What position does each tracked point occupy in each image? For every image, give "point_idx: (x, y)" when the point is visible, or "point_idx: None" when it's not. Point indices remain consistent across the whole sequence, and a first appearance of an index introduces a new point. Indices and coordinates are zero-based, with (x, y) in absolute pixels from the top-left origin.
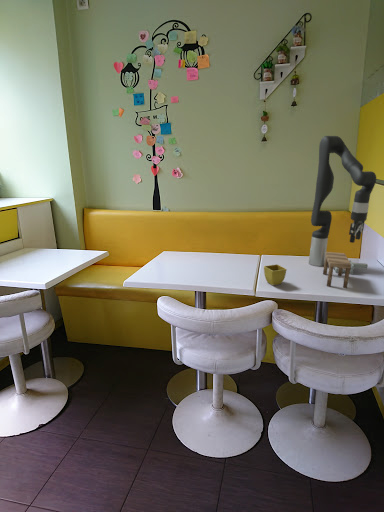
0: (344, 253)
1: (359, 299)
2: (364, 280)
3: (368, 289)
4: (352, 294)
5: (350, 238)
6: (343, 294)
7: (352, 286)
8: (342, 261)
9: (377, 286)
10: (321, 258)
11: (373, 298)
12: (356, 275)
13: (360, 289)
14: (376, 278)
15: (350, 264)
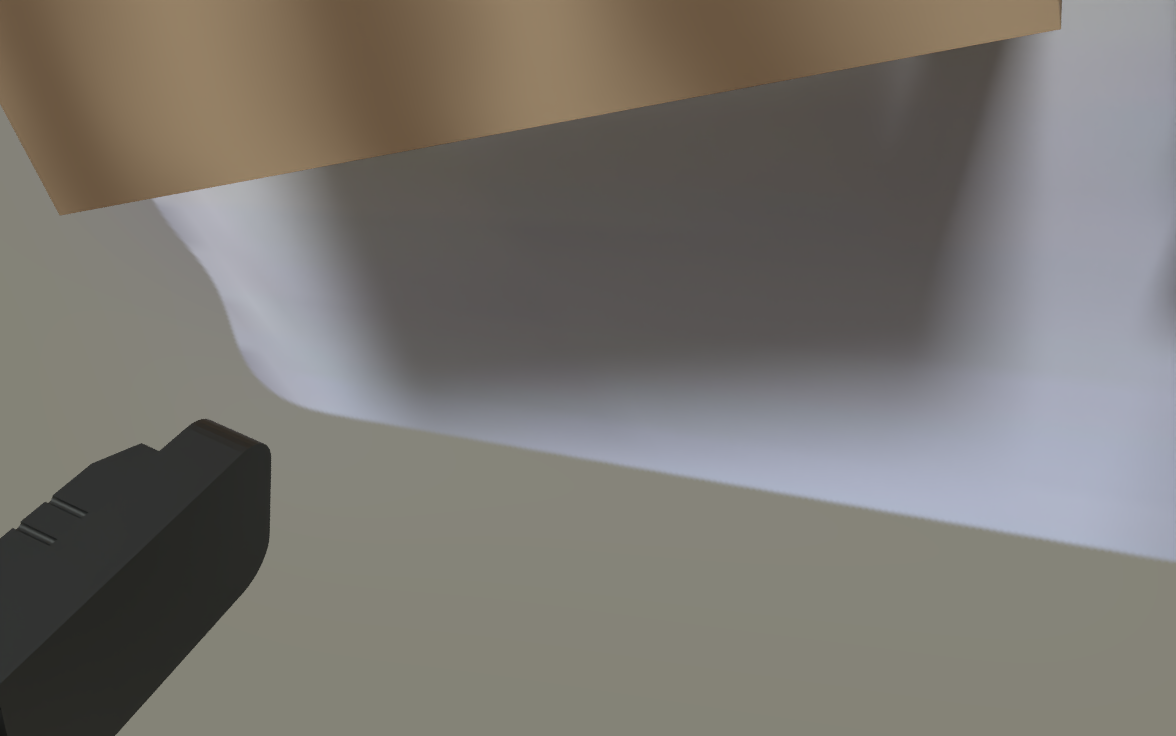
0: (1025, 25)
1: None
2: (898, 318)
3: (511, 331)
4: None
5: (6, 533)
6: None
7: None
8: (122, 15)
9: (700, 457)
10: None
11: (260, 350)
12: (1166, 201)
13: (446, 230)
14: (1103, 510)
15: (57, 201)
